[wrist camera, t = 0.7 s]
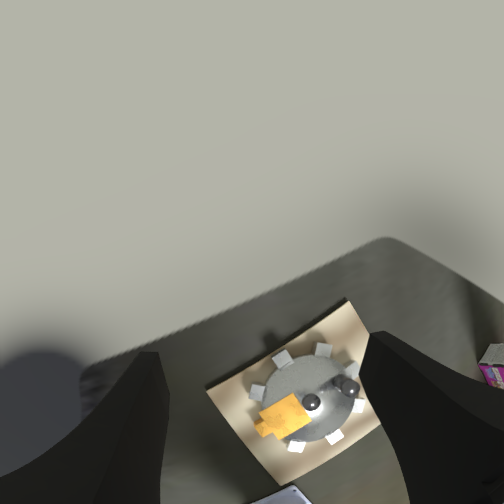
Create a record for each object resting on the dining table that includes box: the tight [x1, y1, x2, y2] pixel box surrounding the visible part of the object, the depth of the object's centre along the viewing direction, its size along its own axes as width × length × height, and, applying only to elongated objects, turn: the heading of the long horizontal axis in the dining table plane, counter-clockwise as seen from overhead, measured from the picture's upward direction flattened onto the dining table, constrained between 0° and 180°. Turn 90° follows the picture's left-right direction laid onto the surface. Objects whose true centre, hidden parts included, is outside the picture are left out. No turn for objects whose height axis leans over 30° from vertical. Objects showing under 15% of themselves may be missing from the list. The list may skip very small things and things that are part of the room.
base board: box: [206, 301, 381, 486], centre depth 30 cm, size 17×20×1 cm
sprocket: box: [248, 341, 366, 452], centre depth 27 cm, size 14×14×6 cm
